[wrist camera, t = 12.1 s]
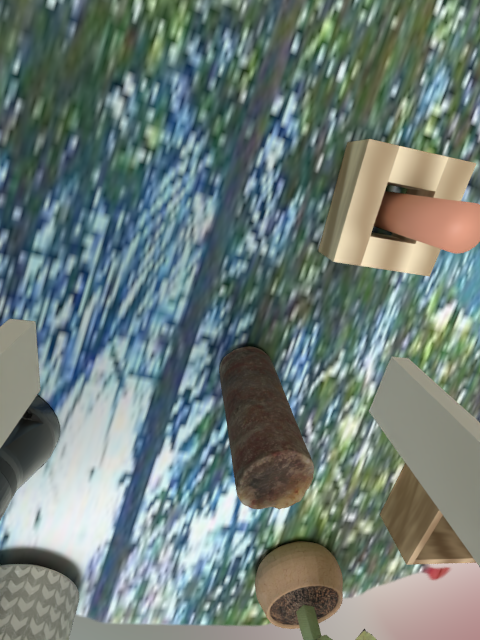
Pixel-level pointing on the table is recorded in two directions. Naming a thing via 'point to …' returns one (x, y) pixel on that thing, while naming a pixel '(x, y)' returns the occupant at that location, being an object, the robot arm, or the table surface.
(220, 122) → the table surface
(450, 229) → the peg
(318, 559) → the potted plant
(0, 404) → the robot arm
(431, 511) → the frame
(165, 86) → the table surface
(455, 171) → the socket block
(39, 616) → the planter
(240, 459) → the brown log
